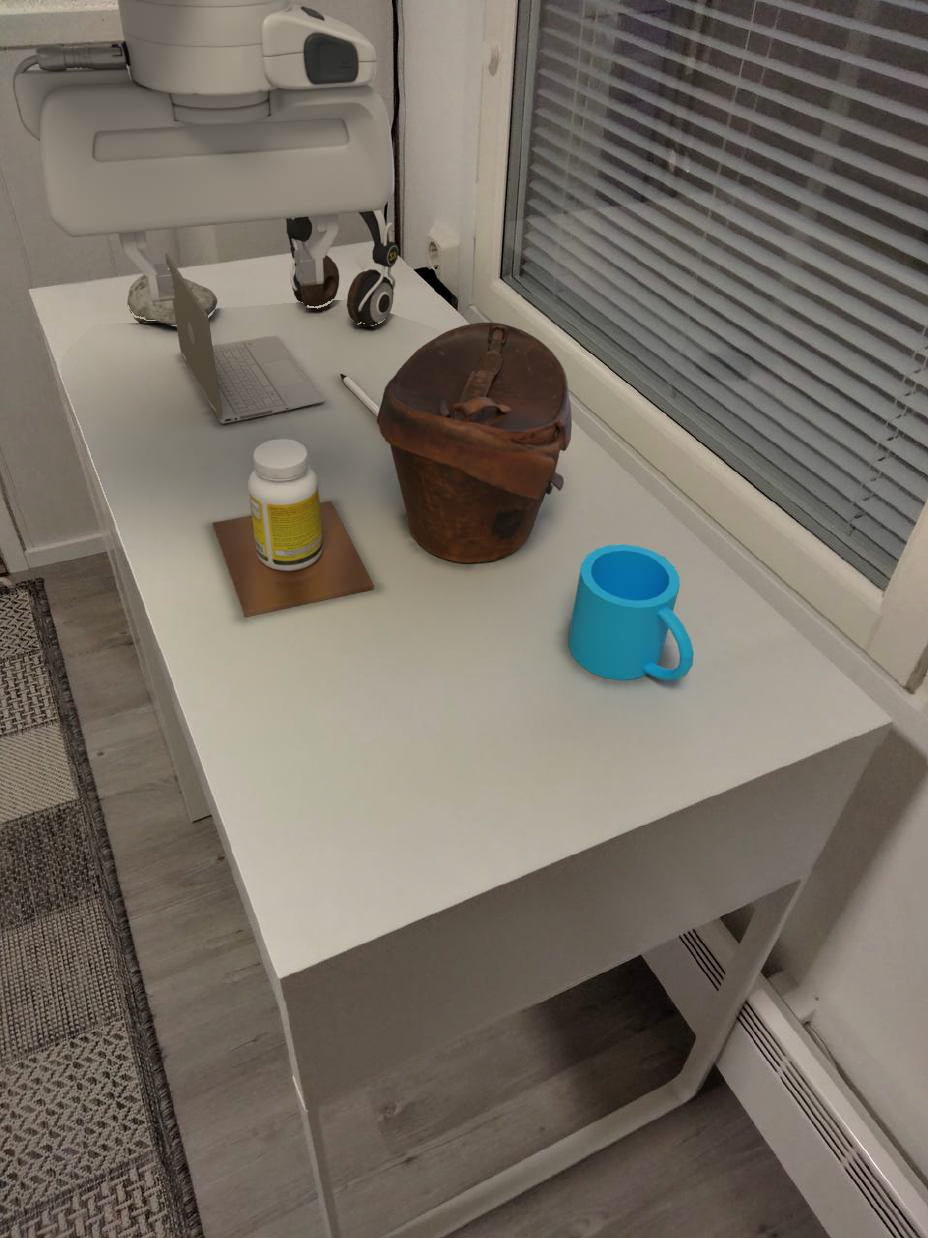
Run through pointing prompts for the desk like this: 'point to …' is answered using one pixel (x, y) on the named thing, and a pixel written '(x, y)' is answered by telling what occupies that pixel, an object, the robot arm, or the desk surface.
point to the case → (476, 438)
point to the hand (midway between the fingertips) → (237, 289)
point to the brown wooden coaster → (285, 589)
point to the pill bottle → (285, 506)
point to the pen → (360, 394)
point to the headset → (368, 288)
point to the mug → (627, 614)
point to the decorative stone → (164, 303)
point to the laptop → (237, 365)
